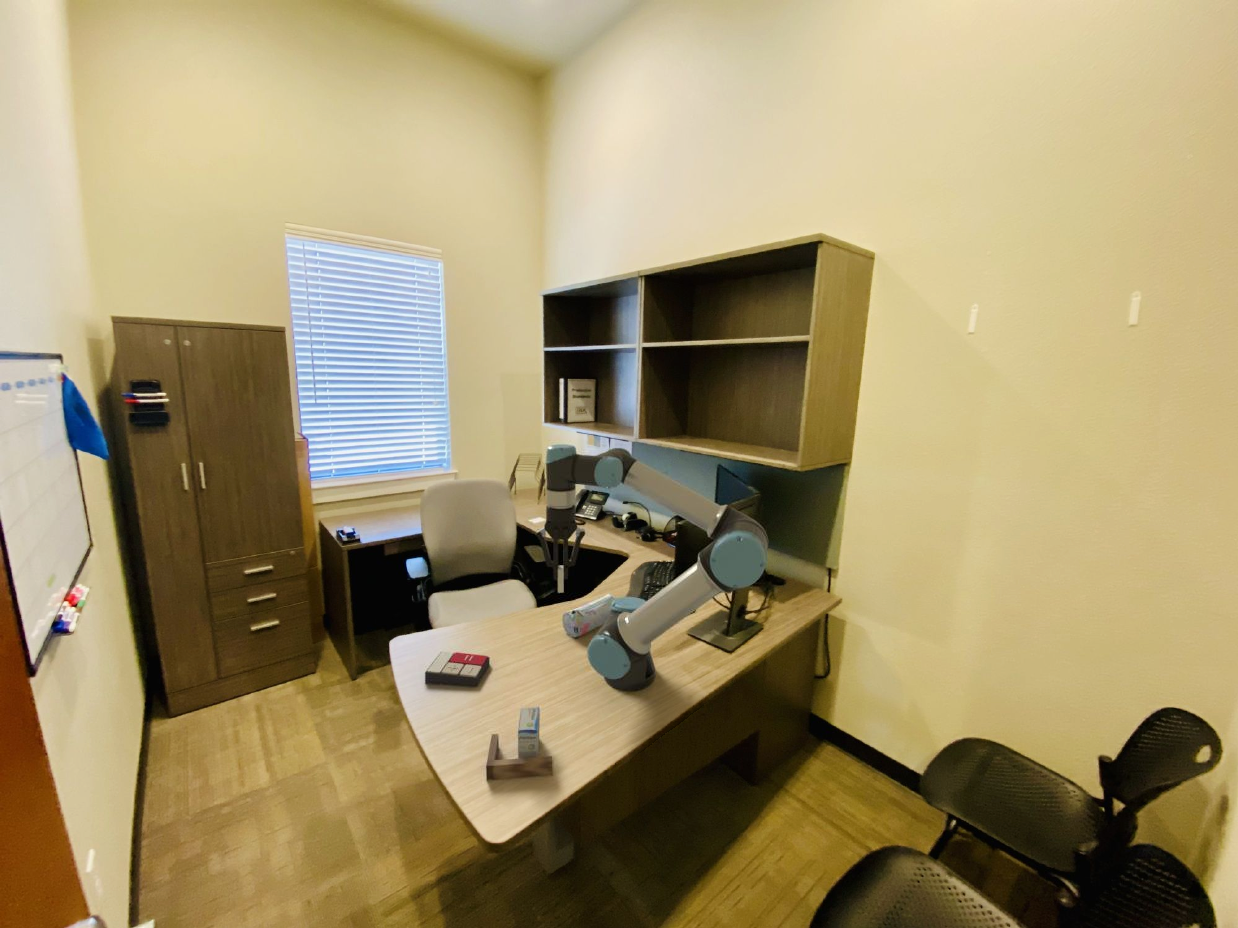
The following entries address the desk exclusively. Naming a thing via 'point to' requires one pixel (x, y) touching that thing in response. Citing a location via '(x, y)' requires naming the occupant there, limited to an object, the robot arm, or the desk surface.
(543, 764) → the corner fence
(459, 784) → the desk surface
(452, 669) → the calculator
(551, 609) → the desk surface
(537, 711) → the medicine box
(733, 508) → the robot arm
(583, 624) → the pencil case
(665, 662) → the desk surface
